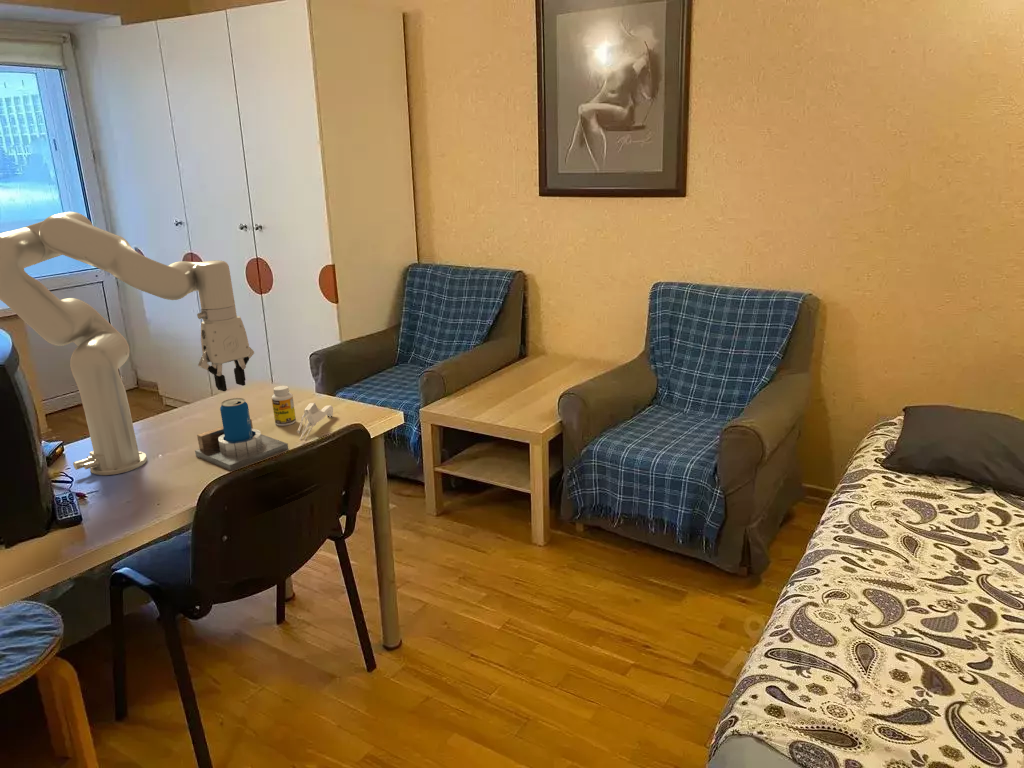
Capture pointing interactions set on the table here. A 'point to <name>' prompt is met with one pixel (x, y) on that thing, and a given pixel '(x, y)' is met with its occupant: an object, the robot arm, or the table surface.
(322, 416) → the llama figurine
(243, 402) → the beverage can
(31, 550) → the table surface
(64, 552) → the table surface
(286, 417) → the supplement bottle
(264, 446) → the jig
